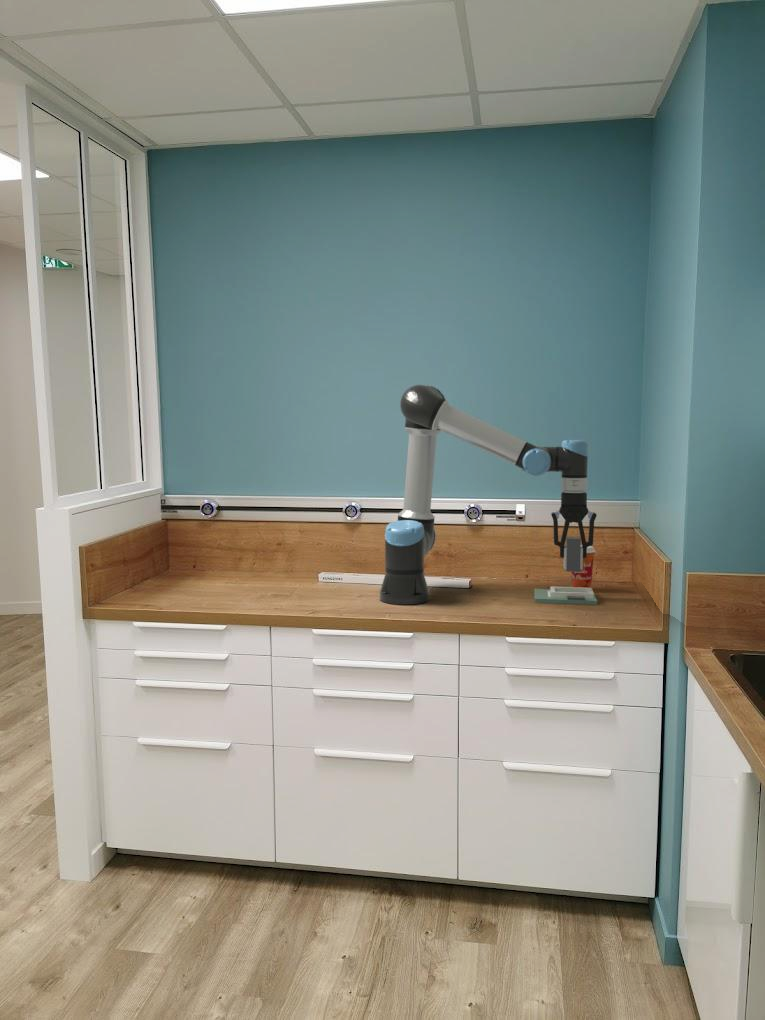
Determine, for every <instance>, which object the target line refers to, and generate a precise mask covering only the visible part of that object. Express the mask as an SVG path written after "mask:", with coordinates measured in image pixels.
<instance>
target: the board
mask: <svg viewBox="0 0 765 1020" xmlns="http://www.w3.org/2000/svg"><path fill="white" fill-rule="evenodd" d="M533 591H534V593H533V594H534V596H533V597H534V603H535V604H536V603H537V604H538V603H539V604H564V605H566V604H567V605H588V606H589V605H593V606H597V605H598V600H597V597H596V594H595V593H594V592H595V591H594V590H593V588H592V587H591V588H582V587H572V586H550V587H549V588H548V589H547V588H534V590H533Z"/></svg>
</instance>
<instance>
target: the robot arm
mask: <svg viewBox="0 0 765 1020" xmlns="http://www.w3.org/2000/svg"><path fill="white" fill-rule="evenodd" d="M399 402H400V403H399V404H400V406H399V407H400V411H401V413H402V415H403V416H404V418H405V423H404V429H405V431H407V432H408V444H407V445H408V447H407V448H408V449H407V458H406V459H407V460H406V469H405V470H406V472H405V473H406V474H405V481H404V482H405V485H404V494H403V495H404V498H403V509H402V510H401V511H399V513H398V515H397V520H396V521H392V522H390V523H388V524H387V525H386V526H385V533H384V541H385V542H384V544H385V545H384V548H385V549H384V550H385V552H384V553H385V556H384V557H385V558H384V559H385V560H384V561H385V564H384V565H385V569H384V571H385V573H384V577H383V581H382V584H381V587H380V589H379V600H380V601H381V602H383V603H387V604H391V605H392V604H393V605H418V604H424V603H427V602H428V601H430V590H429V587H428V583H427V581H426V577H425V575H424V574H425V572H424V571H425V569H424V568H425V565H424V564H425V563H424V561H425V560H424V559H425V557H424V556H425V555H427V554H428V553H430V551H432V549H433V547H434V545H435V543H436V531H435V515H433V513H432V511H431V508H432V507H431V506H432V494H433V485H434V484H433V482H434V474H435V473H434V472H435V462H436V461H435V459H436V450H437V449H436V447H437V446H436V445H437V437H438V435H439V434H440V433H442V432H444V433H446V434H448V435H451V436H453V437H455V438H457V439H458V440H461V441H462V442H465V443H467V444H469V445H471V446H473V447H476V448H478V449H480V450H481V451H485V453H488V454H489V455H490V454H491V455H493V456H495V457H497V458H498V459H501V460H503V461H505V462H507V463H510V464H511V465H514V466H516V467H517V468H520V470H522V471H523V472H526V473H527V474H529V475H532V476H537V477H538V476H542V475H544V474H545V473H548V472H549V473H550V472H553V473H554V472H556V473H559V472H561V479H560V482H561V483H560V484H561V486H560V487H561V488H560V489H561V493H560V497H561V498H560V508H559V510H556V511H555V512H554V511H553V512H551V518H552V521H553V523H552V524H553V544H554V545H555V546H558V547H559V557H560V558H562V559H563V570H566V563H567V547H566V537H568V531H569V527H570V524H571V523H576V524H577V525H578V526H577V527H578V531H579V535H580V536H579V537H580V539H581V545H582V547H581V550H580V569H583V558H586V556H587V547H588V546H592V547H593V546H594V533H595V530H594V529H595V520H596V518H597V516H598V515H597V513H596V512H595V511H594V512H593V511H590V510H589V508H588V505H587V503H588V493H587V491H588V462H589V461H588V457H589V455H588V454H589V453H588V442H587V441H586V440H584V439H565V440H562V442H561V445H559V446H536V445H534V444H532V443H530V442H527V441H525V440H523V439H521V438H519V437H517V436H516V435H513V434H510V433H509V432H507V431H504V430H503V429H500V428H498V427H496V426H493V425H492V424H489V423H488V422H485V421H484V420H481V419H479V418H476V417H474V416H472V415H470V414H469V413H466V412H464V411H462V410H459V408H455V407H454V406H451V405H450V404H449V401H448V400H447V398H446V397H445V395H444V394H443V392H442V391H441V390H440V389H439V388H436V387H435V386H430V385H423V384H415V385H412V386H410V387H408V388H407V389H406V390H405V391H404V392H403V394H402V396H401V398H400V401H399ZM560 515H561V516H562V518H563V519H564V525H563V530H562V533H561V534H562V535H561V538H560V541H559V520H558V519H559V518H560ZM586 516H587V518H588V519H589V523H588V540H586V535H585V531H584V530H585V529H584V524H583V520H584V519H585V518H586Z"/></svg>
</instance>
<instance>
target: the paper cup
mask: <svg viewBox="0 0 765 1020" xmlns="http://www.w3.org/2000/svg"><path fill="white" fill-rule="evenodd" d="M581 547H582V544H581ZM596 552H597V551H596V550H595V548H594V546H593V545H592V546H588V547H587V556H586V558H583V569H580V572H571V581H572V586H571V587H582V588H592V580H593V570H594V567H593V566H594V557H595V553H596Z"/></svg>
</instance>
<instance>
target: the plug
mask: <svg viewBox="0 0 765 1020" xmlns="http://www.w3.org/2000/svg"><path fill="white" fill-rule="evenodd" d="M581 545H582V542H581V537H580V536H566V541H565V546H566V547H567V563H566V569H565V570H566V573H567V572H569V573H572V572H580V550H581Z"/></svg>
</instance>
